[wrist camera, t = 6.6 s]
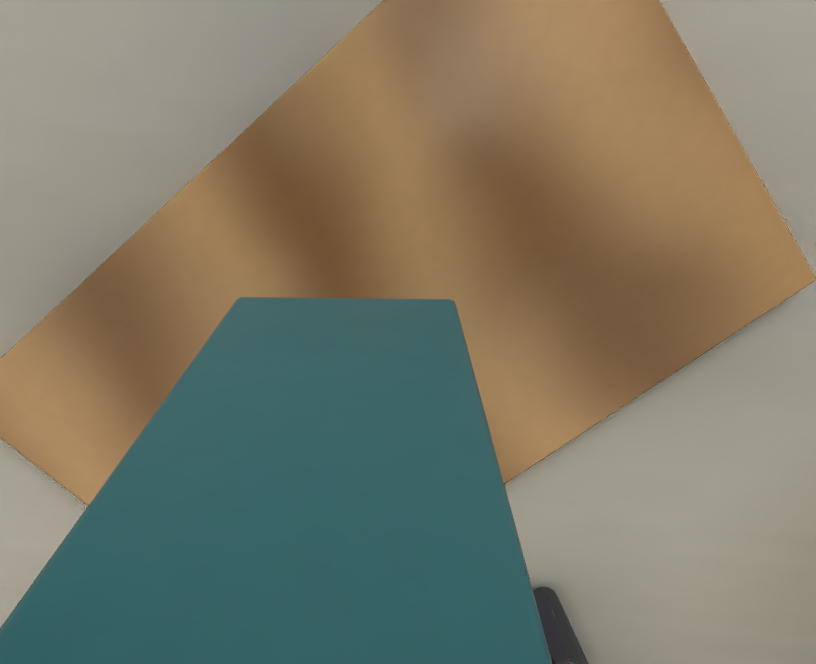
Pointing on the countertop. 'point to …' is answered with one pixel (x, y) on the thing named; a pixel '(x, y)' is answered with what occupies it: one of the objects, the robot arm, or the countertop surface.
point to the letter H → (299, 508)
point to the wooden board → (441, 227)
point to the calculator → (557, 629)
